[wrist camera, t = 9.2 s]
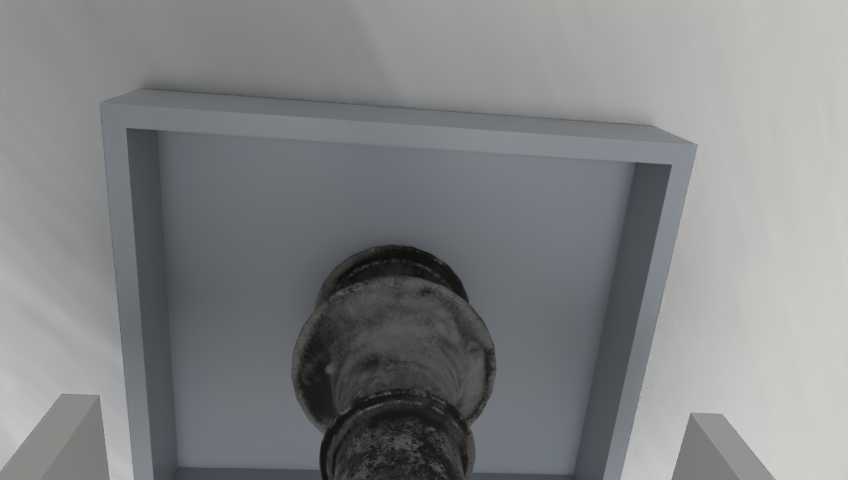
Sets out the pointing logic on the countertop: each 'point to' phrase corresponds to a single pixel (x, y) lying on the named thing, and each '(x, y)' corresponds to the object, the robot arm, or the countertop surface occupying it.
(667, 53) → the countertop surface
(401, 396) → the salt shaker
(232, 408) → the tray
